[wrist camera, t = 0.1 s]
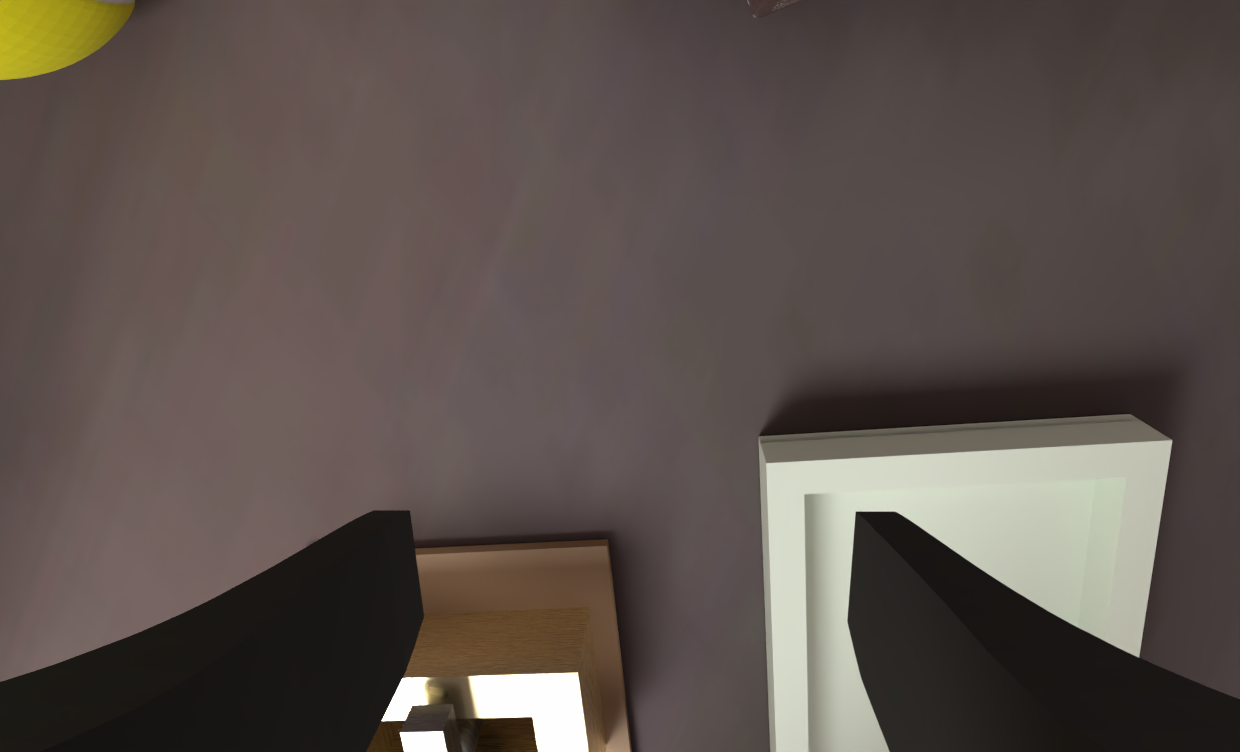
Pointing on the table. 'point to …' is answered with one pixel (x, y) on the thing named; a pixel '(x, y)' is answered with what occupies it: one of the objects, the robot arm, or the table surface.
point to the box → (768, 6)
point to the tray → (949, 541)
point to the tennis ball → (55, 32)
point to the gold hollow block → (506, 680)
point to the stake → (439, 730)
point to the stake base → (537, 599)
